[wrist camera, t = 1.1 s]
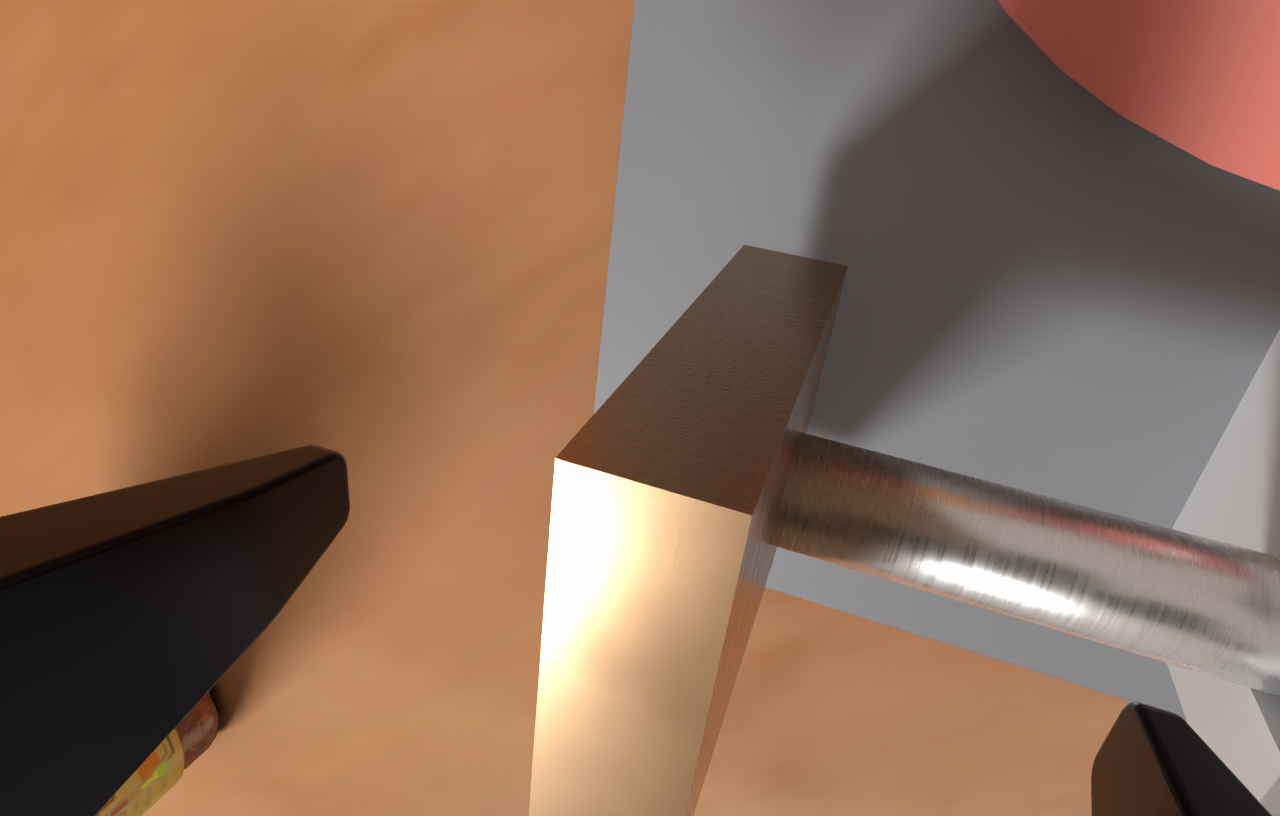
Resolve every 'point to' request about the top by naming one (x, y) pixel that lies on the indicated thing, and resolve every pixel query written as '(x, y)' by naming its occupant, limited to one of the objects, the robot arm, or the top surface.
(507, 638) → the top surface
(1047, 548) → the locking pin
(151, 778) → the sauce bottle
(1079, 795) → the top surface
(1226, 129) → the handwheel
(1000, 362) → the mounting plate
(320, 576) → the top surface
